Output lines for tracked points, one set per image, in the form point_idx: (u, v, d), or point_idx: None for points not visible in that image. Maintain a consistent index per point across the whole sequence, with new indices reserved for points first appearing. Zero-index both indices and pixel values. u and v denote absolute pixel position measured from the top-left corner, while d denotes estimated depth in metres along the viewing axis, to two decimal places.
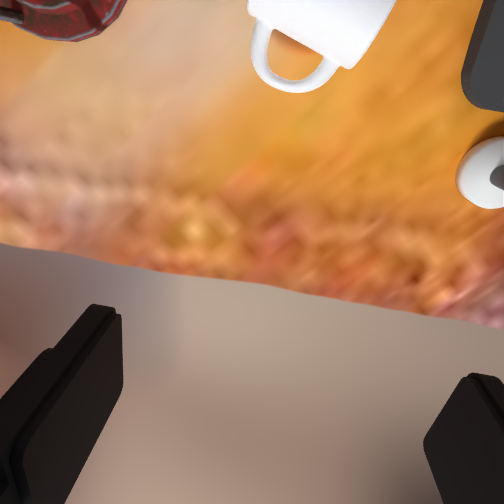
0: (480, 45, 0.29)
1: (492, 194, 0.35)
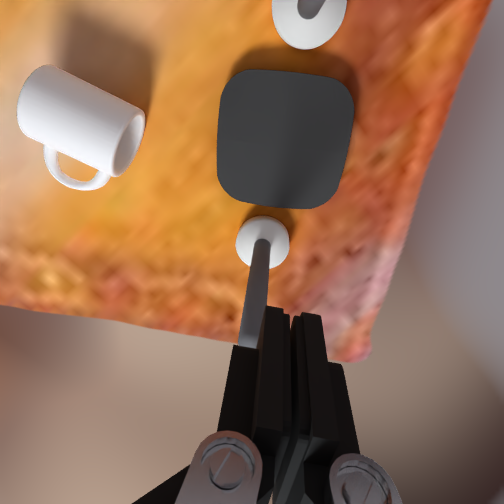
0: None
1: None
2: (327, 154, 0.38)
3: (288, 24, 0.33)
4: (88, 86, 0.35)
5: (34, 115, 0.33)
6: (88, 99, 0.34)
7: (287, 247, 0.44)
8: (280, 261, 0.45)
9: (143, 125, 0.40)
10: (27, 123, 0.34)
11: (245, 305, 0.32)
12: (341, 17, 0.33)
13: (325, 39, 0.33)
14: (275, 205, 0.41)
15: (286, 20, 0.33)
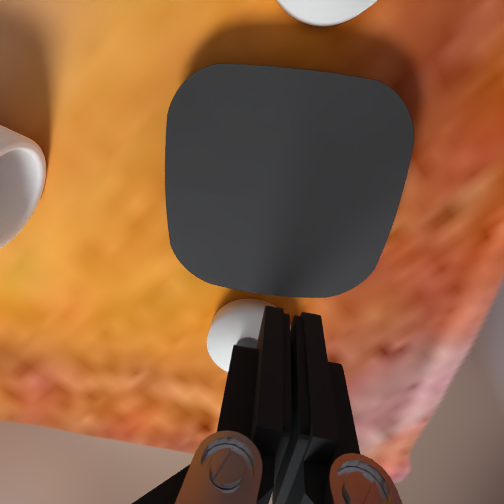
0: (167, 217, 0.23)
1: None
2: (361, 216, 0.21)
3: None
4: None
5: None
6: None
7: None
8: None
9: (40, 161, 0.23)
10: None
11: None
12: None
13: (366, 3, 0.17)
14: (269, 292, 0.25)
15: None
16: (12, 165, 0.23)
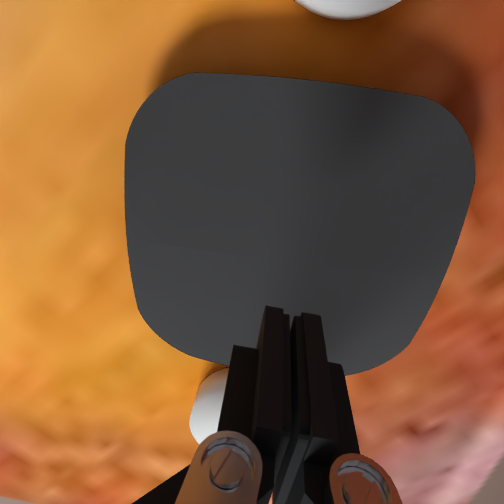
0: (132, 276, 0.17)
1: None
2: (395, 280, 0.16)
3: None
4: None
5: None
6: None
7: None
8: None
9: None
10: None
11: None
12: None
13: None
14: None
15: None
16: None
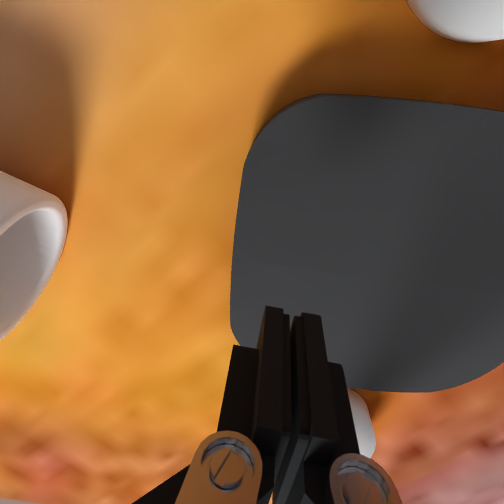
0: (230, 294, 0.17)
1: None
2: (502, 300, 0.16)
3: None
4: None
5: None
6: None
7: (371, 448, 0.22)
8: None
9: (61, 218, 0.17)
10: None
11: None
12: None
13: None
14: (357, 386, 0.19)
15: None
16: (23, 221, 0.18)
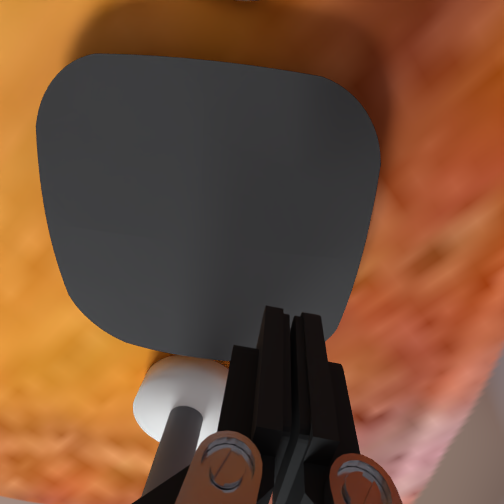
0: (58, 261, 0.17)
1: None
2: (312, 263, 0.16)
3: None
4: None
5: None
6: None
7: None
8: None
9: None
10: None
11: None
12: None
13: None
14: (201, 355, 0.19)
15: None
16: None
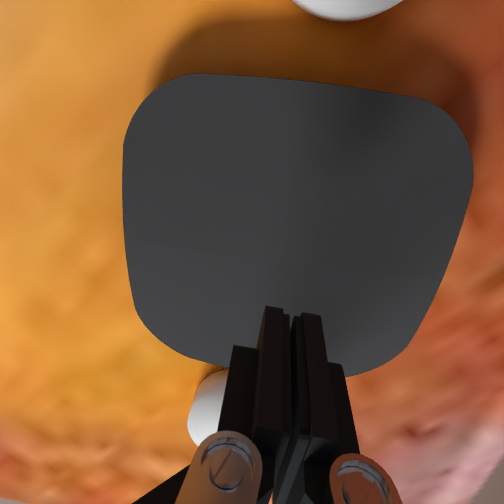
0: (130, 277, 0.17)
1: None
2: (393, 282, 0.16)
3: None
4: None
5: None
6: None
7: None
8: None
9: None
10: None
11: None
12: None
13: None
14: None
15: None
16: None
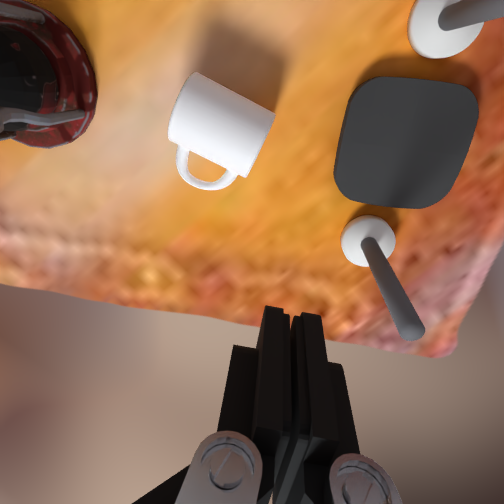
0: (338, 159, 0.42)
1: (364, 256, 0.48)
2: (447, 157, 0.40)
3: (427, 36, 0.35)
4: (232, 92, 0.37)
5: (187, 119, 0.36)
6: (236, 104, 0.36)
7: (393, 245, 0.46)
8: None
9: None
10: (178, 126, 0.36)
11: (391, 298, 0.34)
12: (479, 28, 0.35)
13: (461, 49, 0.36)
14: (388, 205, 0.44)
15: (425, 32, 0.35)
16: None
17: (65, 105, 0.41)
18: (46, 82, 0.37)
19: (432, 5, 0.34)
